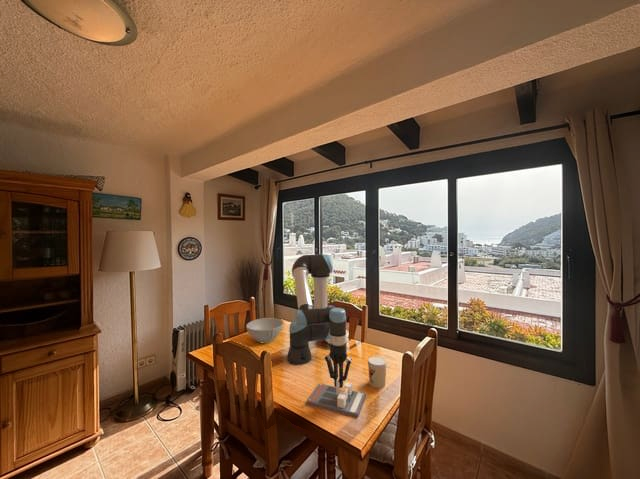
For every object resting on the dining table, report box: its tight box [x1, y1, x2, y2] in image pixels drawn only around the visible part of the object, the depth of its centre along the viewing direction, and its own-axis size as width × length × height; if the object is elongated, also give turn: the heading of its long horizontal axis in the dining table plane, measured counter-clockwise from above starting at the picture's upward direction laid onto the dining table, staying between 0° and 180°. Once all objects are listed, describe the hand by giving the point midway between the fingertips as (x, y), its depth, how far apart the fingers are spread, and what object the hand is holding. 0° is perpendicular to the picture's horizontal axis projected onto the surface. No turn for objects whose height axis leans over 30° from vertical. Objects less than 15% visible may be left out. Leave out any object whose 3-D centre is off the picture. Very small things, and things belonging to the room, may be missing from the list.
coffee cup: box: [367, 356, 387, 389], centre depth 133 cm, size 9×9×12 cm
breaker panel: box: [305, 382, 367, 419], centre depth 121 cm, size 24×15×6 cm, turn 67°
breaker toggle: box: [339, 386, 348, 400], centre depth 120 cm, size 3×3×4 cm
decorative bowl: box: [245, 317, 284, 344], centre depth 192 cm, size 27×27×12 cm
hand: (338, 393), depth 120 cm, fingers closed
